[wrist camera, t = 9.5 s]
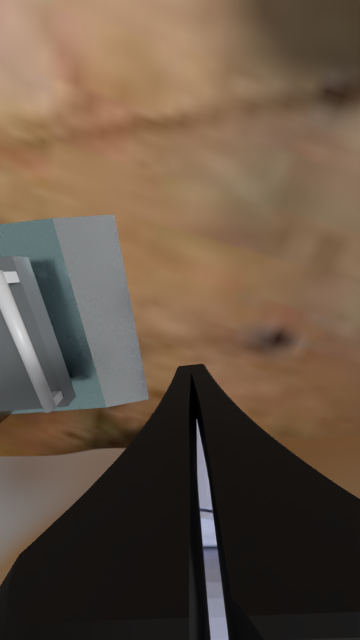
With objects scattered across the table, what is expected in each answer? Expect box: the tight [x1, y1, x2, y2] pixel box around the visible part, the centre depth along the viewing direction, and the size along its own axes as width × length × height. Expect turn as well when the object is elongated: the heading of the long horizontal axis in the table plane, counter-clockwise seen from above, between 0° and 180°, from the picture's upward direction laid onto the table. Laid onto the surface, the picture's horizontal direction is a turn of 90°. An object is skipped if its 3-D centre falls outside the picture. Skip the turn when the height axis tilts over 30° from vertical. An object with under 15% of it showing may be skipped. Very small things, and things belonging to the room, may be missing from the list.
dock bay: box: [0, 215, 149, 423], centre depth 17 cm, size 20×18×3 cm
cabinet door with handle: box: [0, 256, 76, 413], centre depth 15 cm, size 14×9×4 cm, turn 5°
